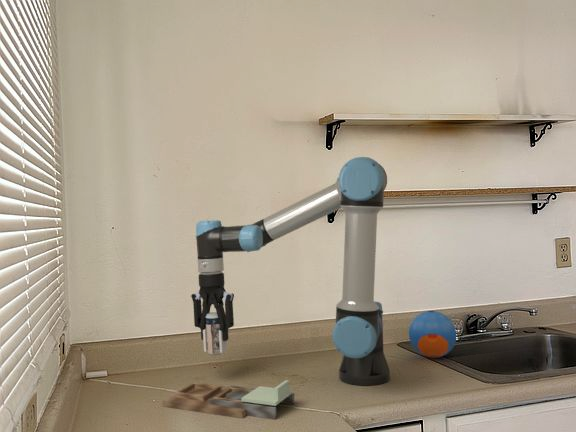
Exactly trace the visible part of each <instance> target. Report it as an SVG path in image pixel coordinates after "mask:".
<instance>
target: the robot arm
mask: <svg viewBox="0 0 576 432" xmlns="http://www.w3.org/2000/svg"><path fill="white" fill-rule="evenodd" d="M387 185H388V175H387V173H386V170H385V168H384V166H382V165H381V164H380V163H378V161H376V160H375V159H374V158H371V157H365V156H358V157H354V158H351V159H350V160H348V161H347V162H345V163H344V164H343V165H342V167H341V168H340V170H339V173H338V177H337V178H336V181H335V183H334V184H333V183H332V184H331V185H329V186H327V187H325V188H323V189H321V190H318V191H317V192H315V193H313V194H311V195H309V196H307V197H304V198H302V199H301V200H299V201H297V202H295V203H293V204H290V205H289V206H287V207H284V208H282V209H280V210H278V211H276V212H274V213H272V214H270V215H267V216H266V217H264V218H262V219H260V220H259V221H256V222H254V223H252V224H246V225H233V226H232V225H231V226H224V225H222V221H221V220H219V219H217V220H216V219H215V220H202V221H198V222H197V223H196V227H195V228H196V229H195V234H196V235H195V238H196V239H195V240H196V251H197V271H198V273H199V274H198V286H199V290H198V292H195V293H192V294H191V295H190V297H191V299H192V304H193V321H194V327H195V328H199V329H200V337H201V340H202V341H203V352H204V353H207V334H206V318H205V317H206V315H207V313H211V307H212V305H213V306H214V307H213V308H214V309H215V312H217V315H218V319H219V323H220V327H221V329H220V330H219V345H220V353H221V354H222V353H223V354H224V353H225V352H227V351H228V347H227V346H228V345H227V344H228V343H227V341H229V329H230V328H233V327H234V326H235V323H234V322H235V320H234V304H233V302H234V298H235V293H229V292H227V291H226V289H225V273H224V272H223V271H224V270H225V268H224V267H225V266H224V253H228V252H229V253H233V252H234V253H235V252H236V253H237V252H238V253H239V252H241V253H242V252H246V253H250V252H257V251H260V250H261V248H263V247H265V246H267V245H268V244H269V243H272V242H274V241H276V240H278V239H279V238H281V237H284V236H286V235H287V234H290V233H292V232H294V231H296V230H299V229H300V228H303V227H305V226H307V225H310V224H312V223H313V222H316V221H317V220H320V219H321V218H322V219H323V218H324V217H325V216H328V215H330V214H332V213H334V212H336V211H338V210H340V209H342V210H343V211H344V212H345V219H344V220H345V222H344V223H345V224H344V225H345V226H344V245H343V246H344V250H343V269H342V270H343V271H342V273H343V275H342V297H341V300H340V301H339V302H338V303H336V305H335V306H336V310H335V324H334V327H333V329H332V342H333V345H334V347H335V348H336V350H337V351H338V352H339V353H340V354H342V359H341V362H340V366H339V368H338V369H339V370H338V378H339V380H340V381H341V382H343V383H346V384H349V385H357V386H375V385H376V386H377V385H381V384H385V383H387V382H389V381H390V380H391V371H390V367H389V365H388V362H387V359H386V356H385V353H384V329H383V328H384V325H383V314H384V310H383V305H382V303H381V302H379V301H376V300H375V299H374V296H375V278H376V277H375V276H376V274H375V273H376V272H375V271H376V250H377V249H376V248H377V226H378V214H379V212H380V211H381V210H383V209H384V198H385V197H384V196H385V190H386V188H387ZM223 300H224V301H223Z"/></svg>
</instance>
